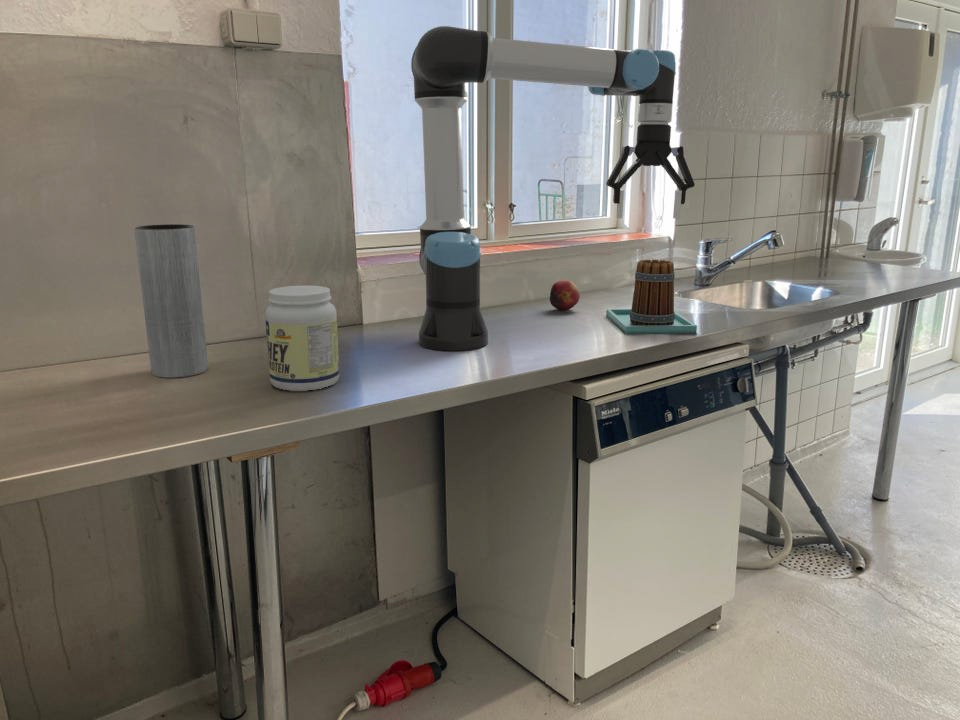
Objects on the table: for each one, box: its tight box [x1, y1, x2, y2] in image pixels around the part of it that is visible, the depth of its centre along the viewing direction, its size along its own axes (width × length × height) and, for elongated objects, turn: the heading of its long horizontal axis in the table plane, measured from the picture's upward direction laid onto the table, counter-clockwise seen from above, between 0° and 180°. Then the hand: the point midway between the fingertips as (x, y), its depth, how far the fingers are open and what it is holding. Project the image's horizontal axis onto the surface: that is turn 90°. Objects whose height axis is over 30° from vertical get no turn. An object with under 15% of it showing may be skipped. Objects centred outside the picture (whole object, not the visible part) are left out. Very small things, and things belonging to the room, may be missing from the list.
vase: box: [133, 223, 209, 379], centre depth 136 cm, size 10×10×27 cm
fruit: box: [549, 280, 581, 312], centre depth 196 cm, size 8×8×8 cm
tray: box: [605, 308, 698, 335], centre depth 180 cm, size 17×21×2 cm
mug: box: [630, 258, 676, 326], centre depth 178 cm, size 16×11×15 cm
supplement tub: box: [264, 284, 340, 392], centre depth 130 cm, size 12×12×17 cm
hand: (647, 218), depth 174 cm, fingers open, 13 cm apart
